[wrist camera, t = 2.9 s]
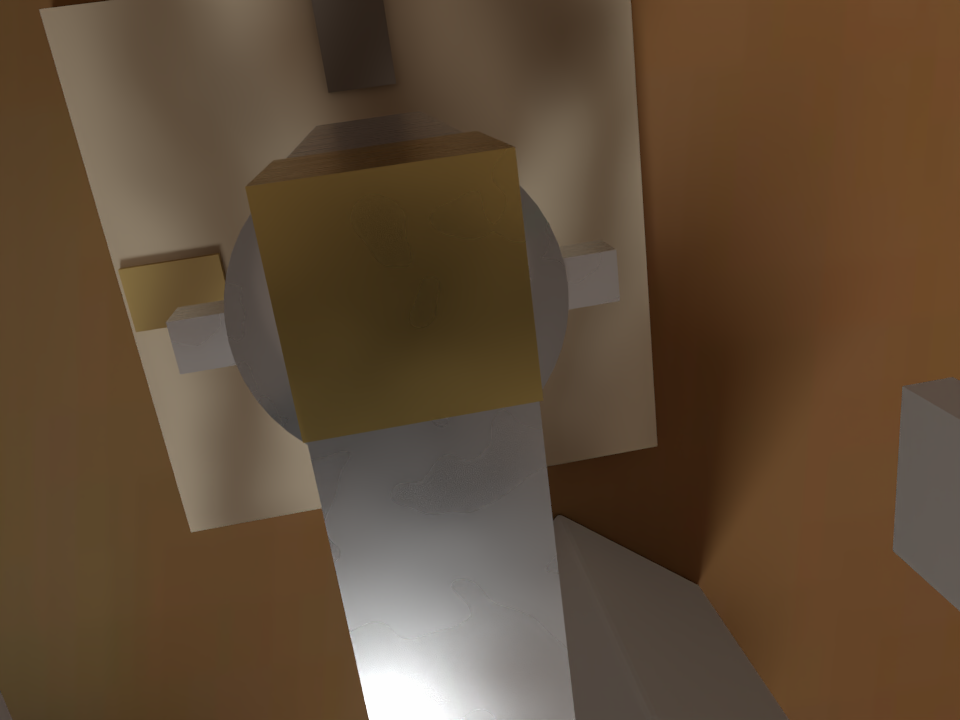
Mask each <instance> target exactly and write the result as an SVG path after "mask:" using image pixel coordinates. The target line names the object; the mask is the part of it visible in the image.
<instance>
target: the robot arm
mask: <svg viewBox="0 0 960 720" xmlns="http://www.w3.org/2000/svg"><path fill="white" fill-rule="evenodd" d="M893 551H894V552H895V553H896V554H897V555H898V556H899V557H900V558H902V559H903V560H904V561H905V562H906V563H907V564H908V565H909V566H910V567H912V568H913V569H914V570H915V571H916V572H917V573H918V574H919V575H920V576H921V577H923V578H924V579H925V580H926V581H927V582H928V583H929V584H930V585H931V586H933V587H934V588H935V589H936V590H937V591H938V592H939V593H940V594H941V595H942V596H944V597H945V598H946V599H947V600H948V601H949V602H950V603H951V604H952V605H954V606H955V607H956V608H957V609H958V610H959V611H960V381H959V380H957V379H955V378H954V377H951V378H946V379H940V380H935V381H929V382H923V383H918V384H912V385H907V386H903V387H902V404H901V421H900V438H899V455H898V472H897V489H896V506H895V523H894V540H893ZM0 720H12V718H11V715H10V713H9V710H8V708H7V706H6V703H5V701H4V699H3V696H2V694H1V692H0Z"/></svg>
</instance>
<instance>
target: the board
mask: <svg viewBox="0 0 960 720" xmlns="http://www.w3.org/2000/svg"><path fill="white" fill-rule="evenodd" d="M39 11H40V14H41V17H42V21H43V24H44V28H45V31H46V35H47V38H48V42H49V45H50V48H51V52H52V55H53V59H54V62H55V66H56V69H57V73H58V76H59V79H60V83H61V86H62V90H63V93H64V97H65V100H66V104H67V107H68V110H69V114H70V117H71V121H72V124H73V128H74V131H75V134H76V138H77V141H78V145H79V148H80V152H81V155H82V159H83V162H84V165H85V169H86V172H87V176H88V179H89V183H90V186H91V190H92V193H93V196H94V200H95V203H96V207H97V210H98V214H99V217H100V221H101V224H102V227H103V231H104V234H105V238H106V241H107V245H108V248H109V251H110V255H111V258H112V262H113V265H114V269H115V272H116V276H117V279H118V282H119V286H120V289H121V293H122V296H123V300H124V303H125V307H126V310H127V313H128V317H129V320H130V324H131V327H132V331H133V334H134V338H135V341H136V344H137V348H138V351H139V355H140V358H141V362H142V365H143V368H144V372H145V375H146V379H147V382H148V386H149V389H150V393H151V396H152V399H153V403H154V406H155V410H156V413H157V417H158V420H159V424H160V427H161V430H162V434H163V437H164V441H165V444H166V448H167V451H168V454H169V458H170V461H171V465H172V468H173V472H174V475H175V479H176V482H177V485H178V489H179V492H180V496H181V499H182V503H183V506H184V510H185V513H186V516H187V520H188V523H189V527H190V530H191V532H195V531H200V530H206V529H211V528H217V527H222V526H227V525H233V524H238V523H244V522H249V521H255V520H260V519H265V518H271V517H276V516H282V515H287V514H293V513H298V512H303V511H309V510H314V509H320V508H322V507H321V502H320V498H319V493H318V489H317V484H316V480H315V475H314V471H313V466H312V462H311V457H310V453H309V449H308V445H307V444H305V443H303V442H302V441H301V440H299V439H298V438H296V437H295V436H293V435H292V434H290V433H289V432H287V431H286V430H285V429H284V428H283V427H282V426H281V425H279V424H278V423H277V422H276V421H275V420H274V419H273V418H272V417H271V416H270V415H269V414H268V413H267V412H266V411H265V410H264V408H263V407H262V406H261V405H260V404H259V403H258V401H257V400H256V399H255V397H254V396H253V394H252V393H251V391H250V390H249V388H248V387H247V385H246V384H245V382H244V380H243V378H242V376H241V374H240V372H239V369H238V367H237V365H234V366H228V367H222V368H216V369H210V370H204V371H198V372H192V373H186V374H180V372H179V369H178V365H177V361H176V358H175V354H174V350H173V347H172V343H171V339H170V336H169V332H168V328H167V325H166V321H167V320H168V319H169V318H170V316H171V315H172V314H173V313H174V311H175V310H176V309H177V308H178V307H183V306H190V305H196V304H202V303H208V302H215V301H221V300H224V290H225V280H226V273H227V269H228V265H229V261H230V257H231V253H232V250H233V248H234V246H235V243H236V241H237V238H238V236H239V233H240V231H241V229H242V228H243V226H244V224H245V222H246V221H247V219H248V217H249V216H250V214H251V212H250V207H249V203H248V198H247V194H246V189H245V186H246V185H247V184H249V183H250V182H251V181H252V180H253V179H254V178H255V177H256V176H257V175H258V174H259V173H260V172H261V171H262V170H263V169H264V168H265V167H267V166H268V165H269V164H270V163H271V162H272V161H273V160H279V159H286V158H287V157H288V156H289V155H290V154H291V153H292V152H293V150H294V149H295V148H296V147H297V146H298V145H299V144H300V143H301V142H302V141H303V140H304V138H305V137H306V136H307V135H308V134H309V133H310V132H311V131H312V130H313V129H314V128H315V127H316V126H317V125H324V124H332V123H339V122H346V121H353V120H360V119H367V118H374V117H381V116H388V115H395V114H402V113H409V112H416V111H421V112H423V113H425V114H427V115H429V116H431V117H433V118H435V119H437V120H439V121H441V122H443V123H445V124H447V125H449V126H451V127H453V128H455V129H457V130H459V131H461V132H463V133H465V132H472V131H479V132H481V133H484V134H486V135H488V136H491V137H493V138H495V139H498V140H500V141H502V142H505V143H507V144H509V145H512V146H514V147H515V150H516V159H517V168H518V177H519V185H520V186H521V187H522V188H523V189H524V190H525V191H526V192H527V194H528V195H529V196H530V197H531V198H532V199H533V201H534V202H535V203H536V204H537V205H538V207H539V209H540V210H541V212H542V213H543V215H544V216H545V218H546V220H547V221H548V223H549V224H550V227H551V229H552V231H553V233H554V235H555V238H556V240H557V242H558V244H559V246H565V245H572V244H578V243H584V242H590V241H597V240H602V241H604V242H605V243H607V244H608V245H610V246H611V247H613V248H615V249H616V252H617V266H618V280H619V294H620V301H617V302H611V303H605V304H599V305H593V306H587V307H581V308H575V309H569V310H568V319H567V328H566V332H565V337H564V341H563V345H562V349H561V351H560V354H559V357H558V359H557V362H556V365H555V367H554V369H553V371H552V373H551V375H550V377H549V379H548V381H547V382H546V384H545V386H544V388H543V389H542V392H543V401H539V402H540V411H541V420H542V429H543V438H544V447H545V456H546V464H547V466H553V465H558V464H564V463H569V462H575V461H580V460H585V459H591V458H596V457H602V456H607V455H613V454H618V453H623V452H629V451H634V450H640V449H645V448H651V447H656V446H657V429H656V412H655V396H654V379H653V362H652V346H651V329H650V312H649V296H648V279H647V262H646V246H645V229H644V212H643V196H642V179H641V162H640V146H639V129H638V112H637V96H636V79H635V62H634V46H633V29H632V12H631V0H109V1H101V2H93V3H85V4H77V5H69V6H61V7H53V8H45V9H39Z"/></svg>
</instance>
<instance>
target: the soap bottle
mask: <svg viewBox="0 0 960 720" xmlns="http://www.w3.org/2000/svg"><path fill="white" fill-rule="evenodd" d="M553 526H554V535H555V544H556V553H557V562H558V571H559V579H560V588H561V597H562V606H563V615H564V624H565V632H566V641H567V650H568V659H569V668H570V677H571V686H572V694H573V703H574V712H575V720H789V719H788V717H787V716H786V715H785V713H784V712H783V710H782V709H781V707H780V706H779V704H778V703H777V701H776V700H775V698H774V697H773V695H772V694H771V692H770V691H769V689H768V688H767V686H766V685H765V683H764V682H763V680H762V679H761V677H760V676H759V674H758V673H757V671H756V670H755V668H754V667H753V665H752V664H751V663H750V661H749V660H748V658H747V657H746V655H745V654H744V652H743V651H742V649H741V648H740V646H739V645H738V643H737V642H736V640H735V639H734V637H733V636H732V634H731V633H730V631H729V630H728V628H727V627H726V625H725V624H724V622H723V621H722V619H721V618H720V616H719V615H718V614H717V612H716V611H715V609H714V608H713V606H712V605H711V603H710V602H709V600H708V599H707V597H706V596H705V594H704V593H703V591H702V590H701V588H700V587H699V585H697V584H695V583H693V582H691V581H689V580H687V579H685V578H683V577H681V576H679V575H677V574H675V573H673V572H671V571H669V570H667V569H666V568H664V567H662V566H660V565H658V564H656V563H654V562H652V561H650V560H648V559H646V558H644V557H642V556H640V555H638V554H636V553H634V552H632V551H630V550H628V549H626V548H625V547H623V546H621V545H619V544H617V543H615V542H613V541H611V540H609V539H607V538H605V537H603V536H601V535H599V534H597V533H595V532H593V531H591V530H589V529H587V528H586V527H584V526H582V525H580V524H578V523H576V522H574V521H572V520H570V519H568V518H566V517H564V516H562V515H558V516H557V517H556V518H555V519H554V521H553Z"/></svg>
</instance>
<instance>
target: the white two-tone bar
mask: <svg viewBox="0 0 960 720" xmlns="http://www.w3.org/2000/svg"><path fill="white" fill-rule="evenodd" d="M245 189H246V194H247V198H248V203H249V207H250V212H251V214H250V216H249V217H248V219H247V221H246V222H245V224H244V226H243V228H242V229H241V231H240V233H239V236H238V238H237V241H236V243H235V246H234V248H233V250H232V253H231V257H230V261H229V265H228V269H227V273H226V280H225V290H224V300H221V301H215V302H208V303H202V304H196V305H190V306H183V307H178V308H177V309H176V310H175V311H174V313H173V314H172V315H171V316H170V318H169V319H168V320H167V321H166V325H167V328H168V332H169V336H170V339H171V343H172V347H173V350H174V354H175V358H176V361H177V365H178V369H179V372H180V374H186V373H192V372H198V371H204V370H210V369H216V368H222V367H228V366H234V365H237V367H238V369H239V372H240V374H241V376H242V378H243V380H244V382H245V384H246V385H247V387H248V388H249V390H250V391H251V393H252V394H253V396H254V397H255V399H256V400H257V401H258V403H259V404H260V405H261V406H262V407H263V408H264V410H265V411H266V412H267V413H268V414H269V415H270V416H271V417H272V418H273V419H274V420H275V421H276V422H277V423H278V424H279V425H281V426H282V427H283V428H284V429H285V430H286V431H287V432H289V433H290V434H292V435H293V436H295V437H296V438H298V439H299V440H301V441H302V442H303V443H305V444H307V445H308V449H309V453H310V457H311V462H312V466H313V471H314V475H315V480H316V484H317V489H318V493H319V498H320V502H321V507H322V511H323V515H324V520H325V524H326V529H327V533H328V538H329V542H330V547H331V551H332V556H333V560H334V565H335V569H336V574H337V578H338V582H339V587H340V591H341V596H342V600H343V605H344V609H345V614H346V618H347V623H348V627H349V632H350V636H351V640H352V645H353V649H354V654H355V658H356V663H357V667H358V672H359V676H360V681H361V685H362V690H363V694H364V698H365V703H366V707H367V712H368V716H369V720H575V712H574V703H573V694H572V686H571V677H570V668H569V659H568V650H567V641H566V632H565V624H564V615H563V606H562V597H561V588H560V579H559V571H558V562H557V553H556V544H555V535H554V526H553V517H552V509H551V500H550V491H549V482H548V473H547V464H546V456H545V447H544V438H543V429H542V420H541V411H540V402H539V401H543V392H542V389H543V388H544V386H545V384H546V382H547V381H548V379H549V377H550V375H551V373H552V371H553V369H554V367H555V365H556V362H557V359H558V357H559V354H560V351H561V349H562V345H563V341H564V337H565V332H566V328H567V319H568V310H569V309H575V308H581V307H587V306H593V305H599V304H605V303H611V302H617V301H620V294H619V280H618V266H617V252H616V249H615V248H613V247H611V246H610V245H608V244H607V243H605V242H604V241H602V240H597V241H590V242H584V243H578V244H572V245H565V246H559V244H558V242H557V240H556V238H555V235H554V233H553V231H552V229H551V227H550V224H549V223H548V221H547V220H546V218H545V216H544V215H543V213H542V212H541V210H540V209H539V207H538V205H537V204H536V203H535V202H534V201H533V199H532V198H531V197H530V196H529V195H528V194H527V192H526V191H525V190H524V189H523V188H522V187H521V186H520V185H519V177H518V168H517V159H516V150H515V147H514V146H512V145H509V144H507V143H505V142H502V141H500V140H498V139H495V138H493V137H491V136H488V135H486V134H484V133H481V132H479V131H472V132H465V133H463V132H461V131H459V130H457V129H455V128H453V127H451V126H449V125H447V124H445V123H443V122H441V121H439V120H437V119H435V118H433V117H431V116H429V115H427V114H425V113H423V112H421V111H416V112H409V113H402V114H395V115H388V116H381V117H374V118H367V119H360V120H353V121H346V122H339V123H332V124H324V125H317V126H316V127H315V128H314V129H313V130H312V131H311V132H310V133H309V134H308V135H307V136H306V137H305V138H304V140H303V141H302V142H301V143H300V144H299V145H298V146H297V147H296V148H295V149H294V150H293V152H292V153H291V154H290V155H289V156H288V157H287V158H286V159H279V160H273V161H272V162H271V163H270V164H269V165H268V166H267V167H265V168H264V169H263V170H262V171H261V172H260V173H259V174H258V175H257V176H256V177H255V178H254V179H253V180H252V181H251V182H250V183H249V184H247V185H246V186H245Z"/></svg>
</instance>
